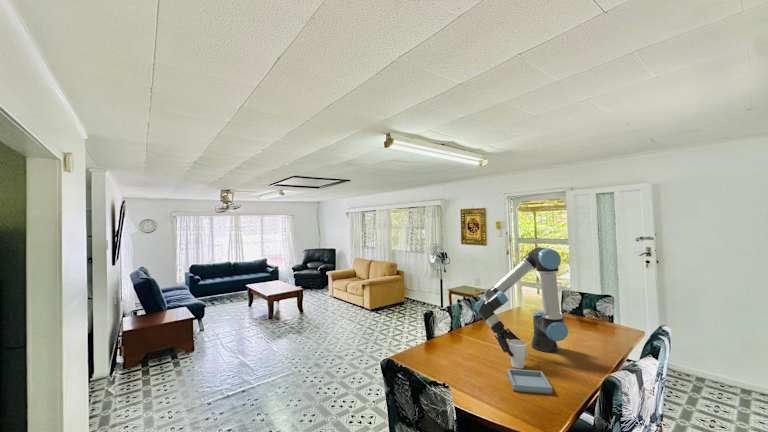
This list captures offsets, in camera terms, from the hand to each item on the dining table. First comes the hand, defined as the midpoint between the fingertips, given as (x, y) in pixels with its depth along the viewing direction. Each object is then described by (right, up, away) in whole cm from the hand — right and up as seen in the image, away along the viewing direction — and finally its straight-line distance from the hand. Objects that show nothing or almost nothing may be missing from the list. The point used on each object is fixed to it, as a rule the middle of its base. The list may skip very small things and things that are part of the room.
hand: (522, 358), depth 172 cm
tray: (-5, -5, -18) cm, 19 cm away
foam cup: (-2, -5, +2) cm, 6 cm away
